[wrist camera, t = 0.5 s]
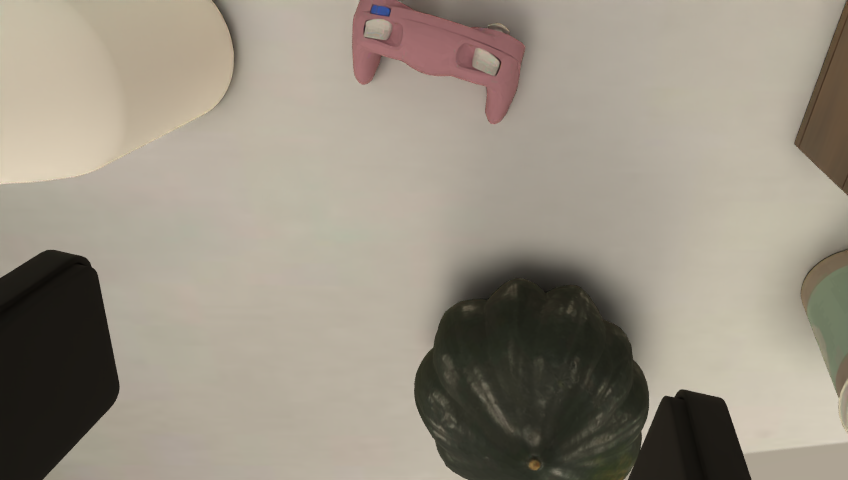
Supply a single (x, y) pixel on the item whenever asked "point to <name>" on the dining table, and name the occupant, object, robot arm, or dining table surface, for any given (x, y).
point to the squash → (532, 388)
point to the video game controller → (438, 49)
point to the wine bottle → (102, 79)
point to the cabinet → (830, 112)
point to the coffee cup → (831, 320)
